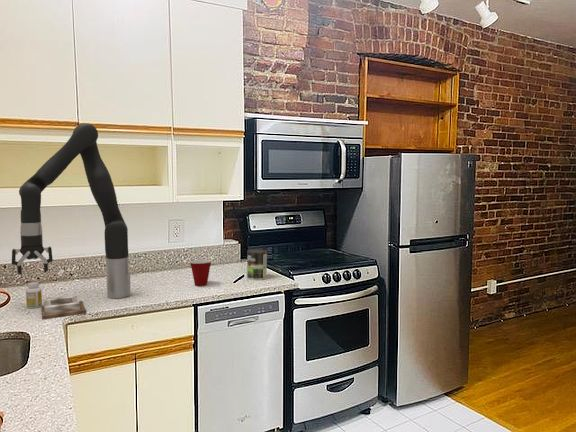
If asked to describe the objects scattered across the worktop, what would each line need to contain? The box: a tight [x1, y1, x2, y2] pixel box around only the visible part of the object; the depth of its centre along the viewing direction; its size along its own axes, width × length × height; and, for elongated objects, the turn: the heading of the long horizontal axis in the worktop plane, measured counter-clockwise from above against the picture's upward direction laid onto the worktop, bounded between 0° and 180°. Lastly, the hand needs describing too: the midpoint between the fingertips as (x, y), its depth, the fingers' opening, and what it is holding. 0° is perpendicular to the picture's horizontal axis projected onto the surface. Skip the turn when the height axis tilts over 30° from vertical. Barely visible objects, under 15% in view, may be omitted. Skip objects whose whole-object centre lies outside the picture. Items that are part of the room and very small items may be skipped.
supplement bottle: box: [25, 281, 43, 309], centre depth 183 cm, size 5×5×10 cm
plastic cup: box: [188, 259, 213, 287], centre depth 218 cm, size 11×11×12 cm
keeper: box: [40, 295, 87, 320], centre depth 178 cm, size 15×14×4 cm
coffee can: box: [246, 248, 268, 281], centre depth 233 cm, size 10×10×14 cm
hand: (33, 273), depth 182 cm, fingers open, 8 cm apart
